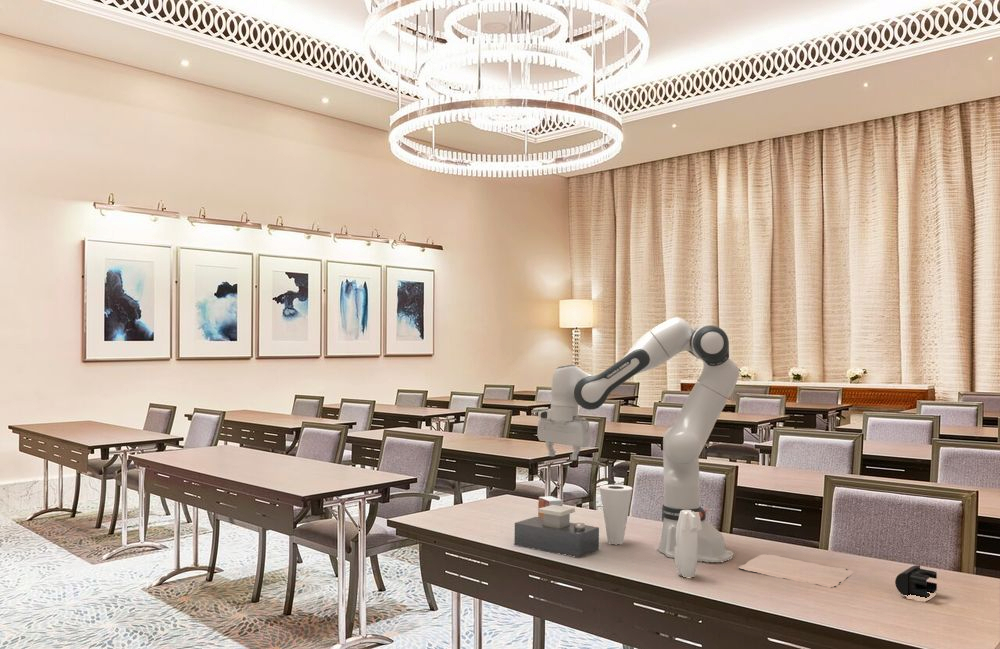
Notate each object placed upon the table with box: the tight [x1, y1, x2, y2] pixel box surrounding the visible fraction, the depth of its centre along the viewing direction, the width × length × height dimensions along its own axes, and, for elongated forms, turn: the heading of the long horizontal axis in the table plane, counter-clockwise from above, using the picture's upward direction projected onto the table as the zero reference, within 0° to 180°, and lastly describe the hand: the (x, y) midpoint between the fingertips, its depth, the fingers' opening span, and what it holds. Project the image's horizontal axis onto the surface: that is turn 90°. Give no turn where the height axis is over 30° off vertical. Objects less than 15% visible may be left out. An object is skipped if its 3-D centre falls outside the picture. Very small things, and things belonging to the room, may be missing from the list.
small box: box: [537, 495, 564, 518], centre depth 262 cm, size 8×6×10 cm
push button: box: [537, 505, 576, 529], centre depth 236 cm, size 8×8×7 cm
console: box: [513, 516, 600, 559], centre depth 236 cm, size 24×12×9 cm, turn 53°
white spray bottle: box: [674, 510, 702, 578], centre depth 207 cm, size 7×18×7 cm
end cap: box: [894, 565, 938, 598], centre depth 192 cm, size 10×7×7 cm
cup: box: [599, 484, 633, 545], centre depth 243 cm, size 11×11×18 cm
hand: (562, 458), depth 240 cm, fingers open, 8 cm apart
